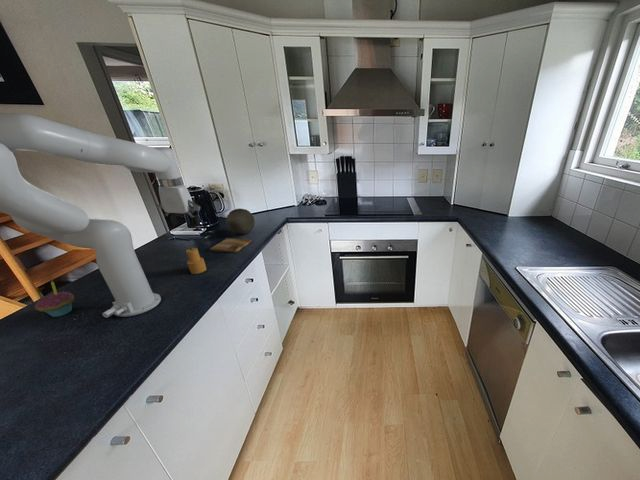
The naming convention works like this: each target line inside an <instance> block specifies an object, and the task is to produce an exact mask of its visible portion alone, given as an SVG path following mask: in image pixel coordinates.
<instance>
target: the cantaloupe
mask: <svg viewBox="0 0 640 480" xmlns="http://www.w3.org/2000/svg"><path fill="white" fill-rule="evenodd" d="M255 223H256V219H255V216H254V215H253V213H251V212H250V211H249V209H245V208H234V209H232V210H230V212H228V214H227V216H226V224H227V227H229V229H230V230H231V231H232V232H233V233H234V234H236V235H240V236H245V235H247V234H249V233H250V232H252V231H253V229H254V227H255Z"/></svg>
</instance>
